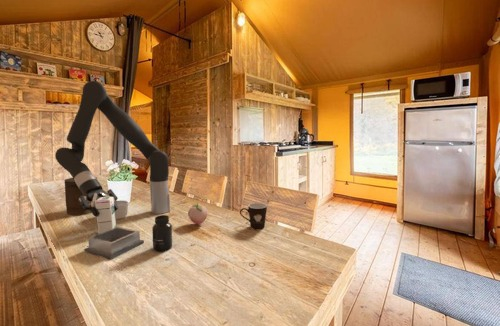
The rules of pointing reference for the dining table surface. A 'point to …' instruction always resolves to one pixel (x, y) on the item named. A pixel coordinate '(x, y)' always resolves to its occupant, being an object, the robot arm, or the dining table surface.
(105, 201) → the syrup box
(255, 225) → the coffee mug
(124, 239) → the collar
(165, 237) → the supplement bottle
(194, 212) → the decorative fruit
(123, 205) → the ramekin
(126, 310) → the dining table surface
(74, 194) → the wooden container
